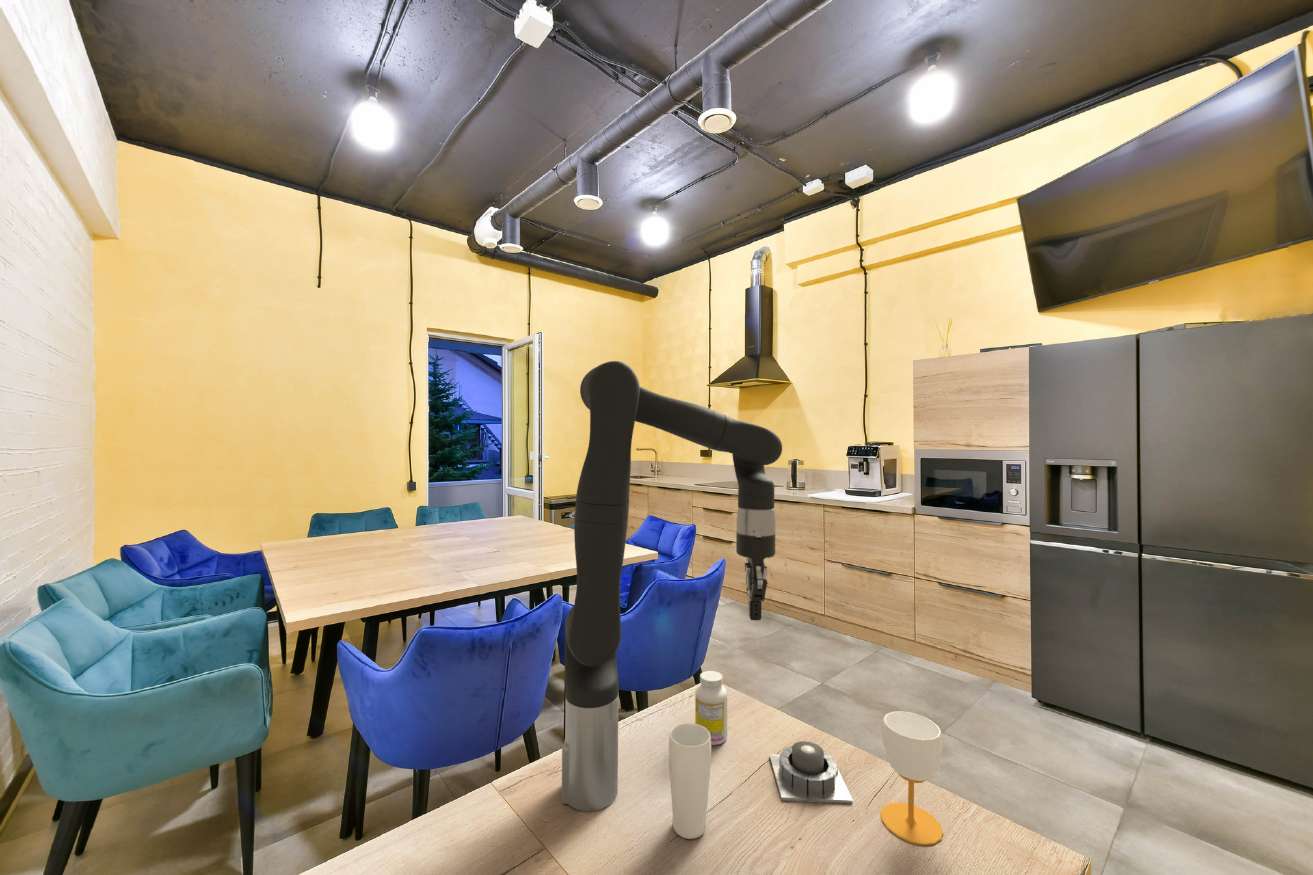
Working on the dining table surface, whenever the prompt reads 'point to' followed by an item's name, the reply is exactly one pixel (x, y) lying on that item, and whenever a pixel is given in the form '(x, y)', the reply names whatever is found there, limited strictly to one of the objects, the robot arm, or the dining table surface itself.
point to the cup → (912, 773)
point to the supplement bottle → (712, 706)
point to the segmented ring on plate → (808, 781)
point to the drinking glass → (689, 778)
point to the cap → (808, 758)
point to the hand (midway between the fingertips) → (755, 618)
